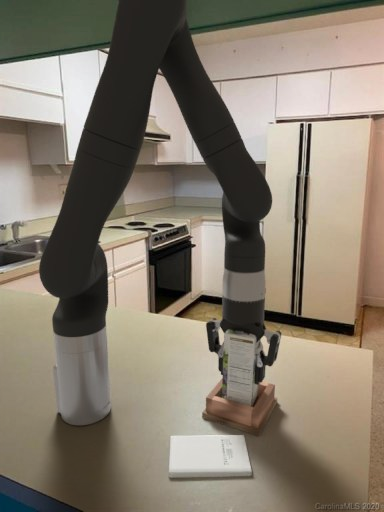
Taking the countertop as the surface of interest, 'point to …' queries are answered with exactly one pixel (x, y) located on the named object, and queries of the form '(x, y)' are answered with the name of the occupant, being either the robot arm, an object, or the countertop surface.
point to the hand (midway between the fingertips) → (241, 377)
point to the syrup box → (239, 367)
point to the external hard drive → (208, 456)
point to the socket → (241, 409)
